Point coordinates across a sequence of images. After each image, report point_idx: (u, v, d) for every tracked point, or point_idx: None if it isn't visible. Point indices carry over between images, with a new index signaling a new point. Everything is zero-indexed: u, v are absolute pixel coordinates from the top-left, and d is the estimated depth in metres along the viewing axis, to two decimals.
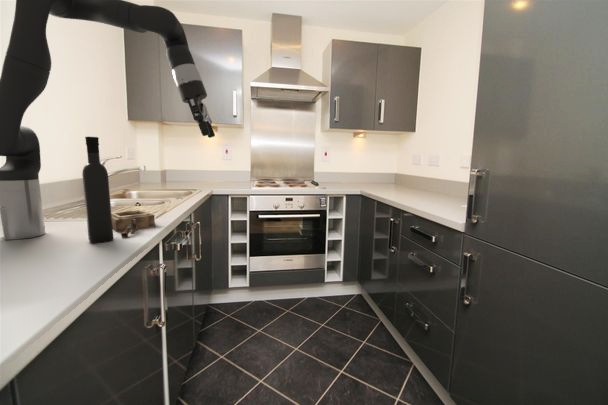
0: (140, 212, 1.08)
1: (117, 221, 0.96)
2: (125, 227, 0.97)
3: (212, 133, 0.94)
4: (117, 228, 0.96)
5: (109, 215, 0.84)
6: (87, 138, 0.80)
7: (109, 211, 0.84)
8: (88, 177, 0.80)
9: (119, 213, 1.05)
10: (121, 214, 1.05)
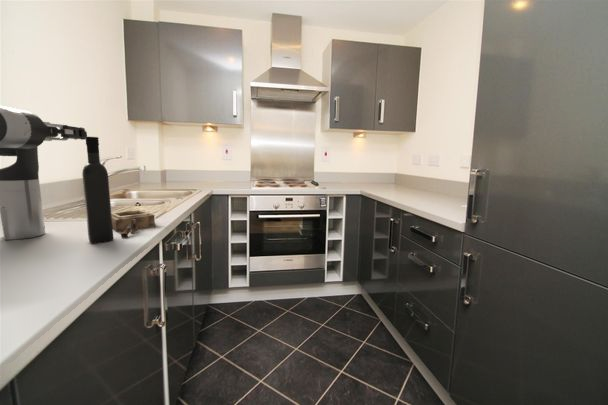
0: (140, 212, 1.08)
1: (117, 221, 0.96)
2: (125, 227, 0.97)
3: None
4: (117, 228, 0.96)
5: (109, 215, 0.84)
6: (87, 138, 0.80)
7: (109, 211, 0.84)
8: (88, 177, 0.80)
9: (119, 213, 1.05)
10: (121, 214, 1.05)
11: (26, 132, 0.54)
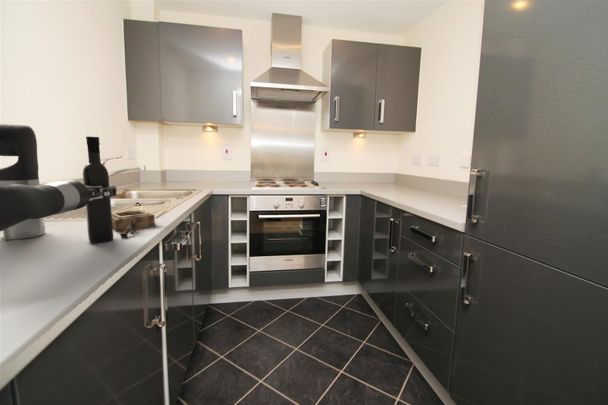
0: (140, 212, 1.08)
1: (117, 221, 0.96)
2: (125, 227, 0.97)
3: None
4: (117, 228, 0.96)
5: (109, 215, 0.84)
6: (88, 138, 0.80)
7: (109, 211, 0.84)
8: (88, 177, 0.80)
9: (119, 213, 1.05)
10: (121, 214, 1.05)
11: (77, 201, 0.69)
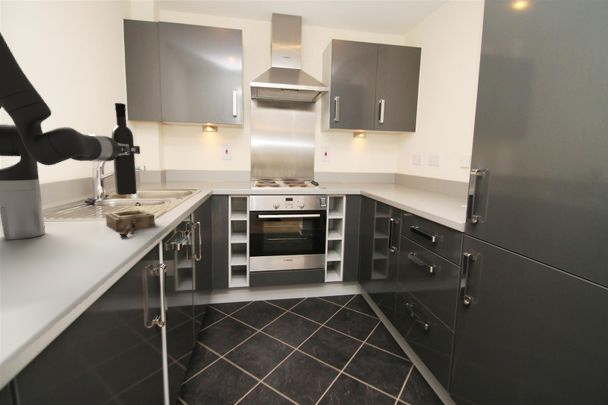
0: (140, 212, 1.08)
1: (117, 221, 0.96)
2: (125, 227, 0.97)
3: None
4: (117, 228, 0.96)
5: (133, 171, 0.99)
6: (116, 104, 0.95)
7: (133, 168, 0.99)
8: (117, 137, 0.94)
9: (119, 213, 1.05)
10: (121, 214, 1.05)
11: (110, 151, 0.84)
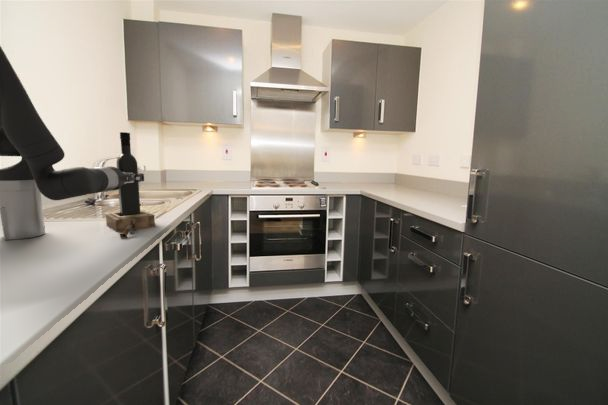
0: (140, 212, 1.08)
1: (117, 221, 0.96)
2: (125, 227, 0.97)
3: None
4: (117, 228, 0.96)
5: (138, 197, 1.02)
6: (121, 133, 0.98)
7: (138, 194, 1.02)
8: (122, 165, 0.97)
9: (119, 213, 1.05)
10: None
11: (116, 182, 0.87)
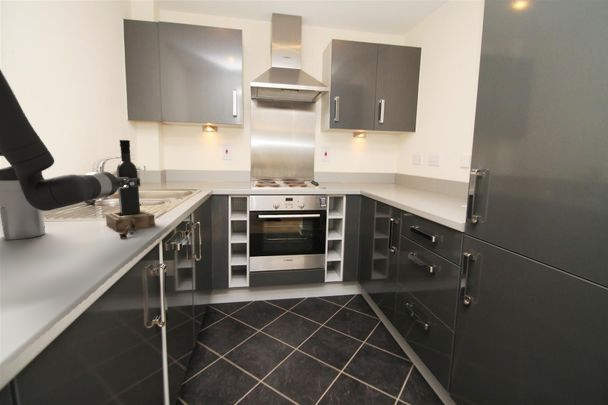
0: (140, 212, 1.08)
1: (117, 221, 0.96)
2: (125, 227, 0.97)
3: None
4: (117, 228, 0.96)
5: (138, 204, 1.02)
6: (121, 141, 0.98)
7: (138, 201, 1.02)
8: (122, 173, 0.98)
9: (119, 213, 1.05)
10: None
11: (109, 188, 0.83)
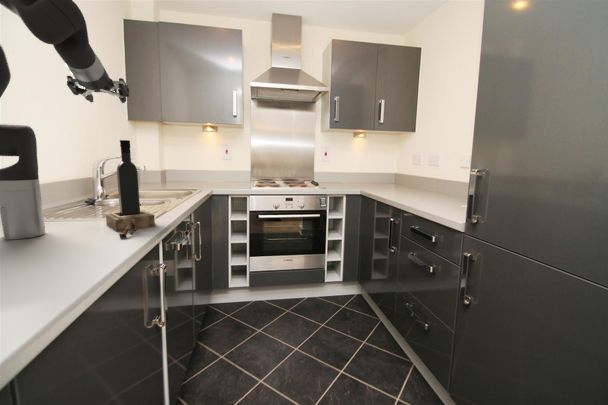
0: (140, 212, 1.08)
1: (117, 221, 0.96)
2: (125, 227, 0.97)
3: None
4: (117, 228, 0.96)
5: (138, 205, 1.02)
6: (121, 141, 0.98)
7: (138, 201, 1.02)
8: (122, 173, 0.98)
9: (119, 213, 1.05)
10: None
11: (102, 69, 0.76)
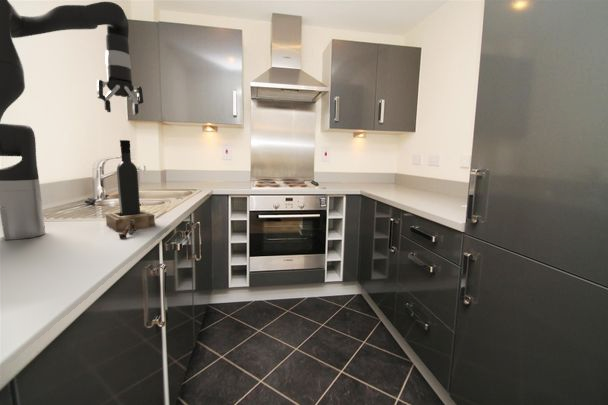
0: (140, 212, 1.08)
1: (117, 221, 0.96)
2: (125, 227, 0.97)
3: (134, 111, 1.10)
4: (117, 228, 0.96)
5: (138, 205, 1.02)
6: (121, 141, 0.98)
7: (138, 201, 1.02)
8: (122, 173, 0.98)
9: (119, 213, 1.05)
10: None
11: None
